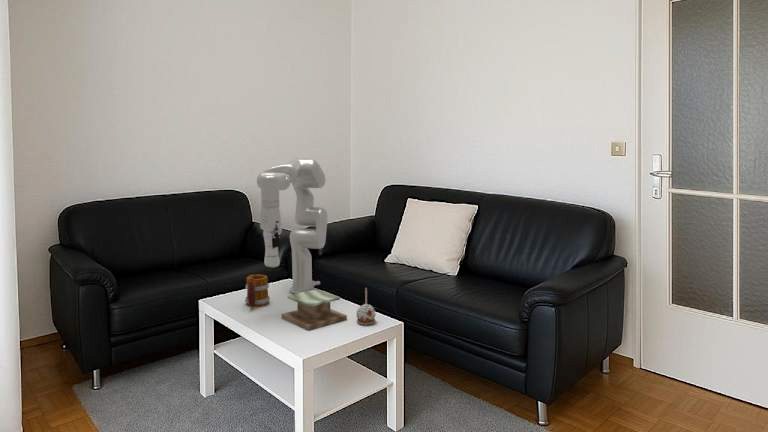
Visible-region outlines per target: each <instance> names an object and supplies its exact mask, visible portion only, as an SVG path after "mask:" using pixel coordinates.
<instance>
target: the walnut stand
mask: <svg viewBox="0 0 768 432" xmlns="http://www.w3.org/2000/svg"><path fill="white" fill-rule="evenodd" d="M287 299H289V300H291V301H292V302H295V303H296V304H297V309H296V310H292V311H288V312H284V313H281V319H282V320H284V321H286V322H288V323H291V324H292V325H294V326H297V327H300V328H302V329H305V330H306V331H312V330H315V329H319V328H322V327H326V326H330V325H334V324H337V323H340V322H343V321H347V320H348V315H347V314H344V313H342V312H340V311H336V310H334V309H331V302H336V301H340V300H341V297H340V296H338V295H335V294H332V293H330V292H328V291H325V290H321V289H319V288H317V289H316V288H315V290H312V291H308V292H303V293H299V294H291V295H288V296H287Z"/></svg>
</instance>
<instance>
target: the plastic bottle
mask: <svg viewBox="0 0 768 432" xmlns="http://www.w3.org/2000/svg"><path fill="white" fill-rule="evenodd" d="M275 230H276V229H275ZM274 233H275V234H276V232H274ZM262 236H263V242H264V241H265V245H264V248H265V249H264V250H265V251H264V261H263V262H264V265H265V267H267V268H276V267H279V266H280V263H281V260H280V259H281V258H280V253H279V247H272V238H273V235H272V232H269V231H266V230H264V233H263V232H262Z"/></svg>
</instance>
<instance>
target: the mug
mask: <svg viewBox="0 0 768 432" xmlns="http://www.w3.org/2000/svg"><path fill="white" fill-rule="evenodd" d="M245 278H246V284H245V287H244V288H245V289H246V292H247V293H246V297H245V300H244V302H245V303H246V306H247V307H250V309H254V308H260V307H266V306H268V305H270V298H271V297H270V295H269V287H270V283H269V282H268V280H269V279H268V276H267V275H266V274H265V275H264V274H251V275H248V276H247V277H245Z"/></svg>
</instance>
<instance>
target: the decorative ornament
mask: <svg viewBox="0 0 768 432" xmlns="http://www.w3.org/2000/svg"><path fill="white" fill-rule="evenodd" d="M364 296H365V297H364V298H365V299H364V300H365V301H364V304H362V305H359V307H358V308H357V310H356V318H357V319H356V323H357V324H358V325H359V324H360V325H367V326H368V325H371V324H372V325H373V324H375V323H376V318H375V317H376V310H375V307H373V306H372V305H371V304H368V288H367V287H365V288H364Z"/></svg>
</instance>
